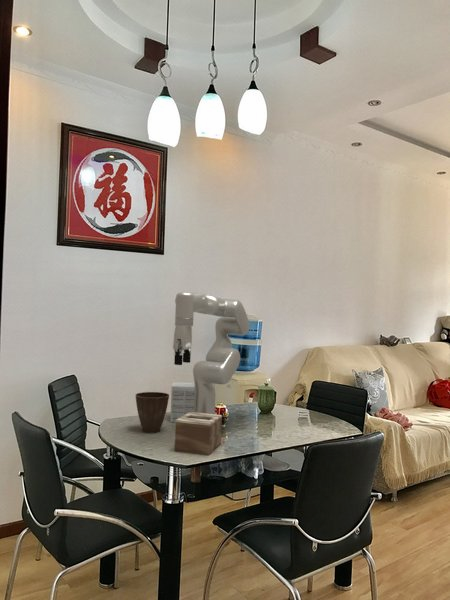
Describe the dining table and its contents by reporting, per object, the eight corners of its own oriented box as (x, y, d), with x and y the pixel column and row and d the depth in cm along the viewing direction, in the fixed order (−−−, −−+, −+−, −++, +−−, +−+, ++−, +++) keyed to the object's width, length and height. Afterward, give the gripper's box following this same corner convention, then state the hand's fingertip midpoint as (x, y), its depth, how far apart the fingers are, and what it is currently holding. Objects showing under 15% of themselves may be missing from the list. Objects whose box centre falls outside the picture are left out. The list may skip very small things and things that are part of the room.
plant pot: (127, 431, 225) (128, 395, 225) (147, 424, 238) (148, 390, 238) (155, 436, 218) (156, 399, 218) (174, 429, 231) (175, 394, 231)
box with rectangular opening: (188, 440, 214) (189, 411, 214) (220, 444, 210) (221, 415, 210) (174, 450, 198) (175, 419, 199) (209, 455, 195) (210, 423, 195)
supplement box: (171, 416, 258) (172, 381, 258) (197, 417, 259) (198, 382, 259) (169, 422, 245) (171, 386, 245) (197, 423, 245) (198, 386, 245)
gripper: (182, 321, 221) (181, 361, 221) (167, 322, 205) (166, 365, 205) (199, 322, 219) (197, 362, 219) (185, 323, 203) (183, 366, 203)
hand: (182, 363), depth 212 cm, fingers open, 9 cm apart
